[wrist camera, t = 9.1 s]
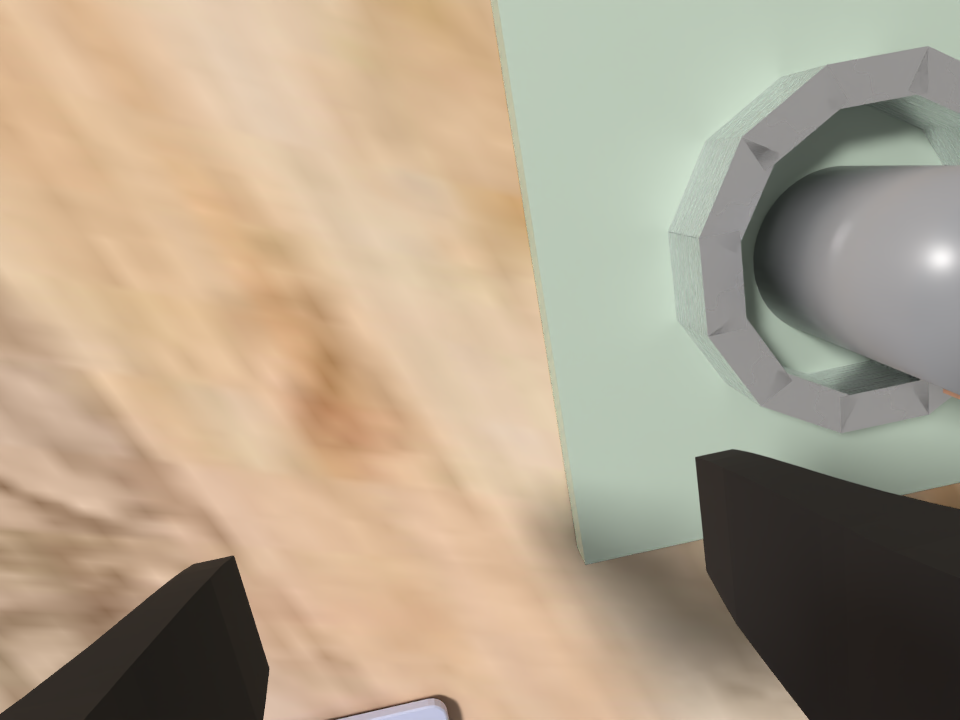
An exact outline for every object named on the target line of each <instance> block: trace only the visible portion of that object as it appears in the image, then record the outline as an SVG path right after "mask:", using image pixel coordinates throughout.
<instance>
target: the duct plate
mask: <svg viewBox="0 0 960 720" xmlns="http://www.w3.org/2000/svg"><path fill="white" fill-rule="evenodd" d="M491 5H492V11H493V18H494V24H495V30H496V37H497V43H498V49H499V56H500V62H501V68H502V74H503V81H504V87H505V93H506V100H507V106H508V112H509V119H510V125H511V131H512V138H513V144H514V150H515V157H516V163H517V169H518V176H519V182H520V188H521V194H522V201H523V207H524V213H525V220H526V226H527V232H528V239H529V245H530V251H531V258H532V264H533V270H534V277H535V283H536V289H537V296H538V302H539V308H540V314H541V321H542V327H543V333H544V340H545V346H546V352H547V359H548V365H549V371H550V378H551V384H552V390H553V397H554V403H555V409H556V415H557V422H558V428H559V434H560V441H561V447H562V453H563V460H564V466H565V472H566V479H567V485H568V491H569V498H570V504H571V510H572V517H573V523H574V529H575V535H576V542H577V548H578V550H579V552H580V554H581V556H582V558H583V561H584V563H585V565H588V564H592V563H597V562H601V561H606V560H610V559H615V558H619V557H624V556H628V555H633V554H637V553H642V552H647V551H651V550H656V549H660V548H665V547H669V546H674V545H678V544H683V543H687V542H692V541H696V540H701V539H703V531H702V521H701V512H700V502H699V492H698V482H697V472H696V462H695V457H698V456H702V455H707V454H712V453H716V452H721V451H726V450H730V449H736V450H742V451H747V452H751V453H755V454H759V455H762V456H766V457H769V458H773V459H776V460H780V461H783V462H786V463H790V464H793V465H796V466H799V467H803V468H806V469H809V470H813V471H816V472H819V473H822V474H826V475H829V476H832V477H836V478H839V479H842V480H846V481H849V482H853V483H856V484H860V485H863V486H867V487H871V488H874V489H878V490H881V491H885V492H889V493H893V494H897V495H905V494H910V493H914V492H919V491H923V490H928V489H932V488H937V487H941V486H946V485H950V484H955V483H960V399H957V398H955V397H951V398H949V399H948V400H947V401H946V402H944V403H943V404H942V405H940V406H939V407H938V408H937V409H935V410H934V411H933V412H931V413H930V414H929V415H925V416H920V417H915V418H911V419H906V420H901V421H897V422H892V423H887V424H883V425H878V426H873V427H869V428H864V429H859V430H855V431H850V432H845V433H839V432H836V431H833V430H830V429H827V428H824V427H821V426H818V425H815V424H812V423H809V422H806V421H803V420H800V419H797V418H794V417H791V416H788V415H785V414H783V413H780V412H777V411H774V410H771V409H768V408H765V407H762V406H760V405H758V404H757V403H755V402H754V401H752V400H751V399H749V398H747V397H746V396H744V395H743V394H741V393H740V392H738V391H737V390H735V389H734V388H732V387H730V386H729V385H727V384H726V383H725V382H724V381H723V379H722V378H721V377H720V375H719V374H718V373H717V371H716V370H715V369H714V368H713V366H712V365H711V364H710V362H709V361H708V360H707V359H706V357H705V356H704V355H703V353H702V352H701V351H700V349H699V348H698V347H697V346H696V344H695V343H694V342H693V340H692V339H691V338H690V336H689V335H688V334H687V333H686V331H685V330H684V329H683V327H682V326H681V325H680V324H679V322H678V321H677V317H676V307H675V297H674V288H673V278H672V268H671V259H670V249H669V239H668V230H669V228H670V225H671V223H672V220H673V218H674V216H675V213H676V211H677V208H678V206H679V203H680V201H681V199H682V196H683V194H684V191H685V189H686V186H687V184H688V181H689V179H690V177H691V174H692V172H693V169H694V167H695V164H696V162H697V160H698V157H699V155H700V152H701V150H702V147H703V145H704V143H705V141H706V140H707V139H708V138H709V137H711V136H712V135H713V134H714V133H715V132H716V131H718V130H719V129H720V128H721V127H722V126H724V125H725V124H726V123H727V122H728V121H729V120H731V119H732V118H733V117H734V116H735V115H736V114H738V113H739V112H740V111H741V110H742V109H743V108H745V107H746V106H747V105H748V104H749V103H750V102H752V101H753V100H754V99H755V98H756V97H758V96H759V95H760V94H761V93H762V92H763V91H765V90H766V89H767V88H768V87H769V86H770V85H772V84H773V83H774V82H775V81H776V80H777V79H779V78H780V77H782V76H785V75H789V74H793V73H797V72H801V71H804V70H808V69H812V68H816V67H820V66H823V65H827V64H833V63H838V62H844V61H849V60H854V59H860V58H865V57H871V56H876V55H882V54H887V53H893V52H898V51H903V50H909V49H914V48H920V47H925V46H929V47H932V48H934V49H936V50H938V51H940V52H942V53H944V54H946V55H949V56H951V57H953V58H955V59H957V60H959V61H960V0H491ZM885 165H942V163H941V161H940V160H939V158H938V156H937V155H936V153H935V151H934V149H933V148H932V146H931V144H930V143H929V141H928V139H927V138H926V136H925V134H924V132H923V131H922V130H921V129H919V128H917V127H914V126H912V125H910V124H908V123H905V122H903V121H901V120H899V119H896V118H894V117H892V116H890V115H887V114H885V113H883V112H881V111H878V110H876V109H874V108H872V107H869V106H867V105H865V104H864V105H859V106H853V107H848V108H843V109H840V110H838V111H837V112H836V113H835V114H834V115H832V116H831V117H830V118H829V119H828V120H826V121H825V122H824V123H823V124H822V125H821V126H819V127H818V128H817V129H816V130H815V131H813V132H812V133H811V134H810V135H809V136H807V137H806V138H805V139H804V140H803V141H801V142H800V143H799V144H798V145H797V146H796V147H794V148H793V149H792V150H791V151H790V152H788V153H787V154H786V155H785V156H784V157H782V158H781V159H780V160H779V161H778V162H777V163H775V164H774V166H773V169H772V171H771V173H770V176H769V178H768V180H767V183H766V185H765V187H764V189H763V192H762V194H761V196H760V199H759V201H758V203H757V206H756V208H755V210H754V212H753V215H752V217H751V219H750V222H749V224H748V226H747V229H746V231H745V233H744V236H743V238H742V240H741V253H742V266H743V280H744V293H745V306H746V318H747V319H748V321H749V322H750V324H751V325H752V326H753V328H754V329H755V330H756V332H757V333H758V334H759V336H760V337H761V338H762V340H763V341H764V343H765V344H766V345H767V347H768V348H769V349H770V351H771V352H772V353H773V355H774V356H775V358H776V359H777V360H778V362H779V363H780V364H781V365H783V366H786V367H789V368H791V369H794V370H797V371H800V372H803V373H806V374H808V373H812V372H817V371H822V370H827V369H832V368H836V367H841V366H846V365H851V364H856V363H860V362H865V361H869V360H870V358H867V357H865V356H862V355H860V354H857V353H855V352H853V351H850V350H848V349H845V348H843V347H840V346H838V345H835V344H833V343H830V342H828V341H825V340H823V339H821V338H818V337H816V336H813V335H811V334H808V333H806V332H803V331H801V330H798V329H796V328H794V327H791V326H789V325H788V324H786V323H784V322H783V321H781V320H780V319H779V318H778V317H776V316H775V315H774V314H773V313H772V312H771V311H770V309H769V308H768V307H767V305H766V304H765V302H764V301H763V299H762V297H761V295H760V293H759V290H758V287H757V284H756V281H755V275H754V259H753V258H754V249H755V244H756V239H757V235H758V233H759V230H760V227H761V225H762V223H763V221H764V218H765V216H766V215H767V213H768V211H769V210H770V208H771V207H772V205H773V204H774V203H775V201H776V200H777V199H778V198H779V197H780V195H781V194H783V193H784V192H785V191H786V190H787V189H788V188H789V187H790V186H791V185H793V184H794V183H795V182H797V181H798V180H800V179H801V178H803V177H805V176H806V175H808V174H811V173H813V172H815V171H818V170H821V169H824V168H828V167H834V166H885Z"/></svg>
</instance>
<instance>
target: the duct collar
mask: <svg viewBox="0 0 960 720" xmlns="http://www.w3.org/2000/svg"><path fill="white" fill-rule="evenodd" d="M864 104H865V105H867V106H869V107H872V108H874V109H876V110H878V111H881V112H883V113H885V114H887V115H890V116H892V117H894V118H896V119H899V120H901V121H903V122H905V123H908V124H910V125H912V126H914V127H917V128H919V129H921V130H922V131H923V132H924V134H925V136H926V138H927V139H928V141H929V143H930V144H931V146H932V148H933V149H934V151H935V153H936V155H937V156H938V158H939V160H940V161H941V163H942V165H960V61H959V60H957V59H955V58H953V57H951V56H949V55H946V54H944V53H942V52H940V51H938V50H936V49H934V48H932V47H929V46H925V47H920V48H914V49H909V50H903V51H898V52H893V53H887V54H882V55H876V56H871V57H865V58H860V59H854V60H849V61H844V62H838V63H833V64H827V65H823V66H820V67H816V68H812V69H808V70H804V71H801V72H797V73H793V74H789V75H785V76H782V77H780V78H779V79H777V80H776V81H775V82H774V83H773V84H772V85H770V86H769V87H768V88H767V89H766V90H765V91H763V92H762V93H761V94H760V95H759V96H758V97H756V98H755V99H754V100H753V101H752V102H750V103H749V104H748V105H747V106H746V107H745V108H743V109H742V110H741V111H740V112H739V113H738V114H736V115H735V116H734V117H733V118H732V119H731V120H729V121H728V122H727V123H726V124H725V125H724V126H722V127H721V128H720V129H719V130H718V131H716V132H715V133H714V134H713V135H712V136H711V137H709V138H708V139H707V140H706V141H705V143H704V145H703V147H702V150H701V152H700V155H699V157H698V160H697V162H696V164H695V167H694V169H693V172H692V174H691V177H690V179H689V181H688V184H687V186H686V189H685V191H684V194H683V196H682V199H681V201H680V203H679V206H678V208H677V211H676V213H675V216H674V218H673V220H672V223H671V225H670V228H669V230H668V239H669V249H670V259H671V268H672V278H673V288H674V297H675V307H676V317H677V321H678V322H679V324H680V325H681V326H682V327H683V329H684V330H685V331H686V333H687V334H688V335H689V336H690V338H691V339H692V340H693V342H694V343H695V344H696V346H697V347H698V348H699V349H700V351H701V352H702V353H703V355H704V356H705V357H706V359H707V360H708V361H709V362H710V364H711V365H712V366H713V368H714V369H715V370H716V371H717V373H718V374H719V375H720V377H721V378H722V379H723V381H724V382H725V383H726V384H727V385H729V386H730V387H732V388H734V389H735V390H737V391H738V392H740V393H741V394H743V395H744V396H746V397H747V398H749V399H751V400H752V401H754V402H755V403H757V404H758V405H760V406H762V407H765V408H768V409H771V410H774V411H777V412H780V413H783V414H785V415H788V416H791V417H794V418H797V419H800V420H803V421H806V422H809V423H812V424H815V425H818V426H821V427H824V428H827V429H830V430H833V431H836V432H839V433H845V432H850V431H855V430H859V429H864V428H869V427H873V426H878V425H883V424H887V423H892V422H897V421H901V420H906V419H911V418H915V417H920V416H925V415H929V414H930V413H931V412H933V411H934V410H935V409H937V408H938V407H939V406H940V405H942V404H943V403H944V402H946V401H947V400H948V399H949V398H951V397H952V396H950V395H948V394H945V393H943V388H941V387H938V386H936V385H934V384H931V383H929V382H926V381H924V380H921V379H919V378H916V377H914V376H911V375H909V374H907V373H904V372H902V371H899V370H897V369H894V368H892V367H889V366H887V365H884V364H882V363H880V362H877V361H875V360H872V359H870V360H869V361H865V362H860V363H856V364H851V365H846V366H841V367H836V368H832V369H827V370H822V371H817V372H812V373H808V374H806V373H803V372H800V371H797V370H794V369H791V368H789V367H786V366H783V365H781V364H780V363H779V362H778V360H777V359H776V358H775V356H774V355H773V353H772V352H771V351H770V349H769V348H768V347H767V345H766V344H765V343H764V341H763V340H762V338H761V337H760V336H759V334H758V333H757V332H756V330H755V329H754V328H753V326H752V325H751V324H750V322H749V321H748V319H747V318H746V306H745V293H744V280H743V266H742V253H741V240H742V238H743V236H744V233H745V231H746V229H747V226H748V224H749V222H750V219H751V217H752V215H753V212H754V210H755V208H756V206H757V203H758V201H759V199H760V196H761V194H762V192H763V189H764V187H765V185H766V183H767V180H768V178H769V176H770V173H771V171H772V169H773V166H774V164H775V163H777V162H778V161H779V160H780V159H781V158H782V157H784V156H785V155H786V154H787V153H788V152H790V151H791V150H792V149H793V148H794V147H796V146H797V145H798V144H799V143H800V142H801V141H803V140H804V139H805V138H806V137H807V136H809V135H810V134H811V133H812V132H813V131H815V130H816V129H817V128H818V127H819V126H821V125H822V124H823V123H824V122H825V121H826V120H828V119H829V118H830V117H831V116H832V115H834V114H835V113H836V112H837V111H838V110H840V109H843V108H848V107H853V106H859V105H864Z"/></svg>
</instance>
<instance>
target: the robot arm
mask: <svg viewBox="0 0 960 720" xmlns="http://www.w3.org/2000/svg"><path fill="white" fill-rule="evenodd" d="M695 462H696V472H697V482H698V492H699V502H700V512H701V521H702V531H703V541H704V551H705V561H706V570H707V573H708V575H709V576H710V578H711V580H712V582H713V584H714V586H715V587H716V589H717V591H718V593H719V595H720V596H721V598H722V600H723V602H724V604H725V605H726V607H727V609H728V610H729V612H730V614H731V615H732V617H733V619H734V621H735V622H736V624H737V625H738V627H739V628H740V630H741V631H742V632H743V634H744V635H745V636H746V638H747V639H748V640H749V642H750V643H751V644H752V646H753V647H754V648H755V650H756V651H757V652H758V654H759V655H760V656H761V658H762V659H763V660H764V662H765V663H766V664H767V665H768V667H769V668H770V669H771V671H772V672H773V673H774V675H775V676H776V677H777V678H778V680H779V681H780V682H781V684H782V685H783V686H784V688H785V689H786V690H787V691H788V693H789V694H790V695H791V697H792V698H793V699H794V701H795V702H796V703H797V704H798V706H799V707H800V708H801V710H802V711H803V712H804V714H805V715H806V716H807V717H808V719H809V720H960V509H957V508H952V507H947V506H943V505H938V504H933V503H929V502H925V501H921V500H917V499H913V498H909V497H905V496H901V495H897V494H893V493H889V492H885V491H881V490H878V489H874V488H871V487H867V486H863V485H860V484H856V483H853V482H849V481H846V480H842V479H839V478H836V477H832V476H829V475H826V474H822V473H819V472H816V471H813V470H809V469H806V468H803V467H799V466H796V465H793V464H790V463H786V462H783V461H780V460H776V459H773V458H769V457H766V456H762V455H759V454H755V453H751V452H747V451H742V450H736V449H730V450H726V451H721V452H716V453H712V454H707V455H702V456H698V457H695ZM268 676H269V666H268V663H267V660H266V656H265V653H264V650H263V647H262V644H261V640H260V637H259V634H258V631H257V628H256V624H255V621H254V618H253V615H252V612H251V608H250V605H249V602H248V599H247V596H246V592H245V589H244V586H243V583H242V580H241V576H240V573H239V570H238V567H237V564H236V560H235V557H234V556H229V557H225V558H220V559H215V560H211V561H206V562H201V563H197V564H193V565H191V566H190V567H188V568H187V569H185V570H183V571H182V572H181V573H179V574H178V575H176V576H175V577H174V578H172V579H171V580H170V581H169V582H167V583H166V584H165V585H163V586H162V587H161V588H160V589H158V590H157V591H156V592H155V593H153V594H152V595H151V596H150V597H149V598H147V599H146V600H145V601H144V602H142V603H141V604H140V605H139V606H138V607H136V608H135V609H134V610H133V611H132V612H130V613H129V614H128V615H127V616H125V617H124V618H123V619H122V620H121V621H119V622H118V623H117V624H116V625H115V626H113V627H112V628H111V629H110V630H108V631H107V632H106V633H105V634H104V635H102V636H101V637H100V638H99V639H97V640H96V641H95V642H94V643H93V644H91V645H90V646H89V647H88V648H86V649H85V650H84V651H83V652H81V653H80V654H79V655H77V656H76V657H75V658H73V659H72V660H71V661H70V662H68V663H67V664H66V665H64V666H63V667H62V668H61V669H59V670H58V671H57V672H55V673H54V674H53V675H51V676H50V677H49V678H48V679H46V680H45V681H44V682H42V683H41V684H40V685H38V686H37V687H36V688H35V689H33V690H32V691H31V692H29V693H28V694H27V695H26V696H24V697H23V698H22V699H20V700H19V701H17V702H16V703H15V704H13V705H12V706H11V707H9V708H8V709H6V710H5V711H4V712H2V713H1V714H0V720H263V716H264V709H265V702H266V693H267V685H268ZM337 720H449V716H448V712H447V708H446V706H445V704H444V703H443V702H442V701H441V700H438V699H435V698H432V699H425V700H421V701H416V702H412V703H407V704H403V705H399V706H394V707H390V708H385V709H381V710H377V711H372V712H368V713H364V714H359V715H355V716H350V717H346V718H342V719H337Z"/></svg>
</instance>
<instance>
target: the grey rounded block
mask: <svg viewBox="0 0 960 720" xmlns="http://www.w3.org/2000/svg"><path fill="white" fill-rule="evenodd" d="M753 259H754V275H755V281H756V284H757V287H758V290H759V293H760V295H761V297H762V299H763V301H764V302H765V304H766V305H767V307H768V308H769V309H770V311H771V312H772V313H773V314H774V315H775V316H776V317H778V318H779V319H780V320H781V321H783V322H784V323H786V324H788V325H789V326H791V327H794V328H796V329H798V330H801V331H803V332H806V333H808V334H811V335H813V336H816V337H818V338H821V339H823V340H825V341H828V342H830V343H833V344H835V345H838V346H840V347H843V348H845V349H848V350H850V351H853V352H855V353H857V354H860V355H862V356H865V357H867V358H870V359H872V360H875V361H877V362H880V363H882V364H884V365H887V366H889V367H892V368H894V369H897V370H899V371H902V372H904V373H907V374H909V375H911V376H914V377H916V378H919V379H921V380H924V381H926V382H929V383H931V384H934V385H936V386H938V387H941V388H943V393H945V394H948V395H950V396H952V397H955V398H957V399H960V165H885V166H834V167H828V168H824V169H821V170H818V171H815V172H813V173H811V174H808V175H806V176H805V177H803V178H801V179H800V180H798V181H797V182H795V183H794V184H793V185H791V186H790V187H789V188H788V189H787V190H786V191H785V192H784V193H783V194H781V195H780V197H779V198H778V199H777V200H776V201H775V203H774V204H773V205H772V207H771V208H770V210H769V211H768V213H767V215H766V216H765V218H764V221H763V223H762V225H761V227H760V230H759V233H758V235H757V239H756V244H755V249H754V258H753Z"/></svg>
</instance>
